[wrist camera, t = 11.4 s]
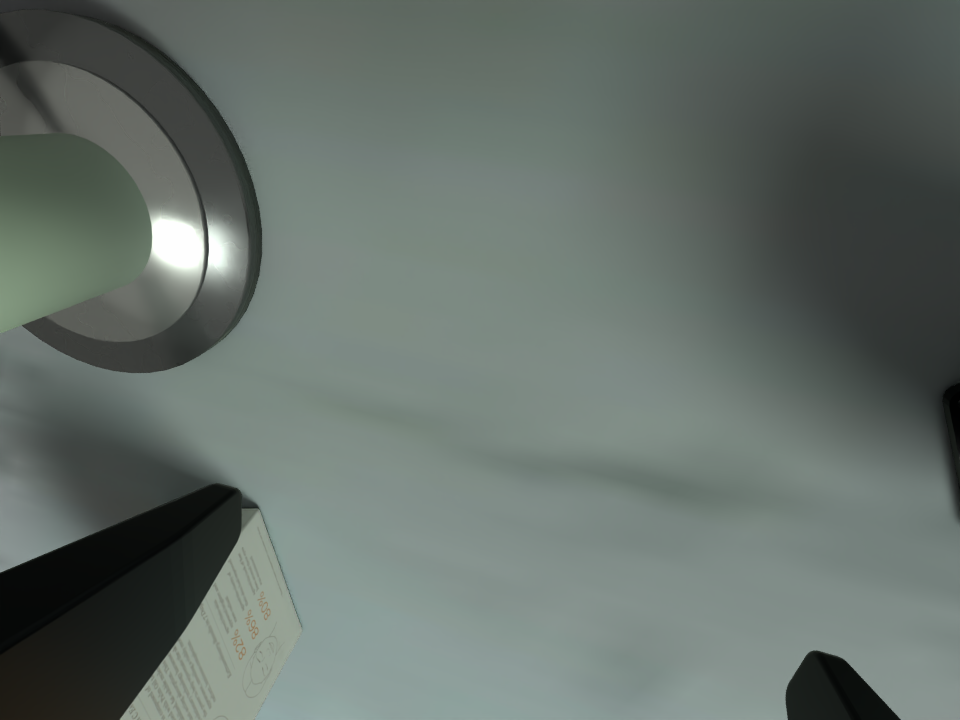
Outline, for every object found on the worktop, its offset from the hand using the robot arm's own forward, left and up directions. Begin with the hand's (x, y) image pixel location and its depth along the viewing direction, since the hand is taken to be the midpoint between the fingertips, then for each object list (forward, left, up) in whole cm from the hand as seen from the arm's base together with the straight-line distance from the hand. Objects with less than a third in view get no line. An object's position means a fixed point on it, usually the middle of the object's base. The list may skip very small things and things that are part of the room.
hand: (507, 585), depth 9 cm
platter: (+10, +15, -13) cm, 22 cm away
